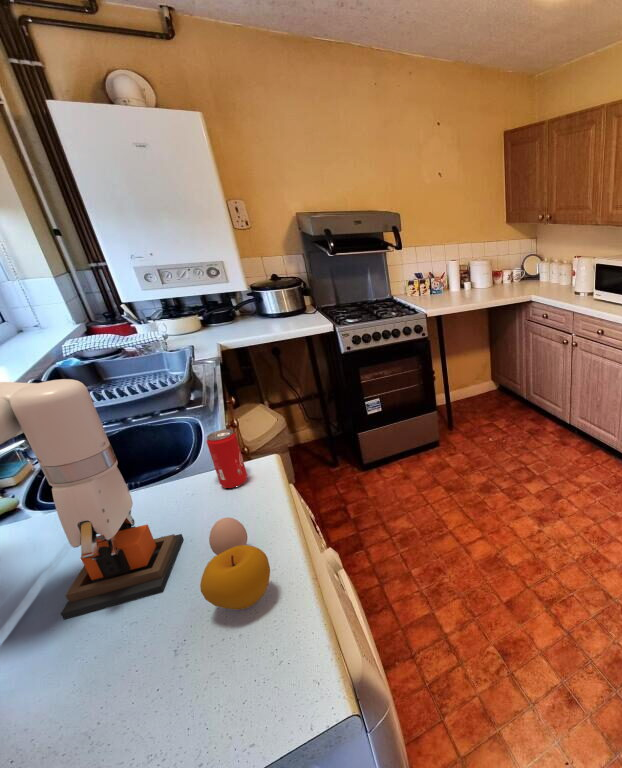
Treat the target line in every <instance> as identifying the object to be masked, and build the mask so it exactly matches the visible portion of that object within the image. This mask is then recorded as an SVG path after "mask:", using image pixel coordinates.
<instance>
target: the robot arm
mask: <svg viewBox="0 0 622 768" xmlns="http://www.w3.org/2000/svg"><path fill="white" fill-rule="evenodd" d="M21 434H24V435H25V438H26V440H27V442H28V444H29V446H30V447H31V450H32V452H33V453H34V456H35V458H36V460H37V462H38V464H39V466H40V469H41V471H42V473H43V475H44V477H45V479H46V481H47V483H48V485H49V486H51V487H52V488H51V493H52V499H53V503H54V506H55V510H56V513H57V516H58V519H59V522H60V524H61V526H62V530H63V532H64V534H65V536H66V539H67V541H68V543H69V545H70V546H71V547H72V548H73V549H75V548H79V547H80V553H81V554H80V557H81V556H82V558H92V560H96V562H97V565H98V567H99V569H100V571H101V573H102V575H103V577H104V578H109V577H112V576H116V575H120V574H124V573H127V572H129V570H130V566H129V564H128V561H127V559H126V557H125V555H124V552H123V550H118V546H117V542H116V538H115V534H116V533H117V532H118V531H121V530H125V529H130V528H134V527H136V526H135V524H136V521H135V519H134V517H133V516H132V513H131V512H132V508H133V503H134V502H133V499H132V495H131V493H130V489H129V488H128V485H127V483H126V481H125V479H124V477H123V475H122V473H121V471H120V469H119V468H118V459H117V457H116V454H115V453H114V452H115V451H114V449H113V447H112V445H111V443H110V440H109V438H108V436H107V433H106V429H105V427H104V426H103V423H102V420H101V418H100V416H99V414H98V411H97V408H96V406H95V404H94V401H93V399H92V397H91V394H90V392H89V390H88V387H87V386H86V385H85V384H84V383H83V382H82V381H79V380H78V379H77V380H76V379H71V378H62V379H52V380H47V381H42V382H17V381H0V445H3V444H4V443H5V442H7V441H9V440H12V439H14V438H16V437H18V436H19V435H21ZM98 535H99V536H100V535H104V536H100V537H96V536H98ZM103 541H108V545H109V547H105V546H104V547H98V543H99V542H103Z"/></svg>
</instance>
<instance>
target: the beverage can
mask: <svg viewBox="0 0 622 768" xmlns="http://www.w3.org/2000/svg"><path fill="white" fill-rule="evenodd" d="M206 444H207V448H208V451H209V455H210V457H211V461H212V463H213V466H214V470H215V472H216V476H217V479H218V482H219V484H220V486H222V488H224V487H225V488H233V487H236V486H239V485H241V484H243V483H244V482H245V481H246V482H247V479H248V472H247V469H246V466H245V462H244V459H243V455H242V452H241V451H242V450H241V447H240V445H239V441H238V437H237V434H236V433H235V432H234V430H233V429H231V428H230V429H229V428H224V429H219V430H216V431H213V432H211V433H209V434H208V435H207V436H206ZM246 482H245V483H246ZM245 483H244V484H245ZM244 484H243V485H244ZM241 486H242V485H241ZM239 487H240V486H239ZM225 488H224V489H225ZM233 489H234V488H233Z"/></svg>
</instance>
